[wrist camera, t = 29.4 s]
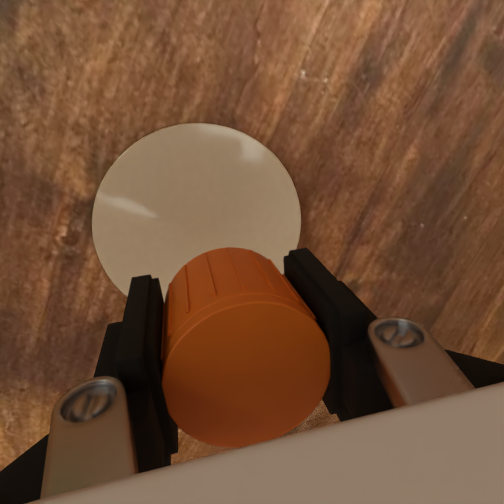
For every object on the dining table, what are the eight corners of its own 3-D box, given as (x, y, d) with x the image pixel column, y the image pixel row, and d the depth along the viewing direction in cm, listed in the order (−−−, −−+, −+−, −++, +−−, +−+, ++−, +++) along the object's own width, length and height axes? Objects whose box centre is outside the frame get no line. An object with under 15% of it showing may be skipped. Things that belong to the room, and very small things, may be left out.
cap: (290, 240, 11) (341, 291, 8) (286, 351, 13) (327, 435, 9) (157, 248, 10) (150, 308, 7) (168, 365, 12) (166, 463, 8)
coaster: (122, 329, 19) (120, 338, 19) (67, 135, 15) (62, 137, 15) (299, 294, 21) (304, 301, 20) (291, 111, 17) (297, 111, 16)
